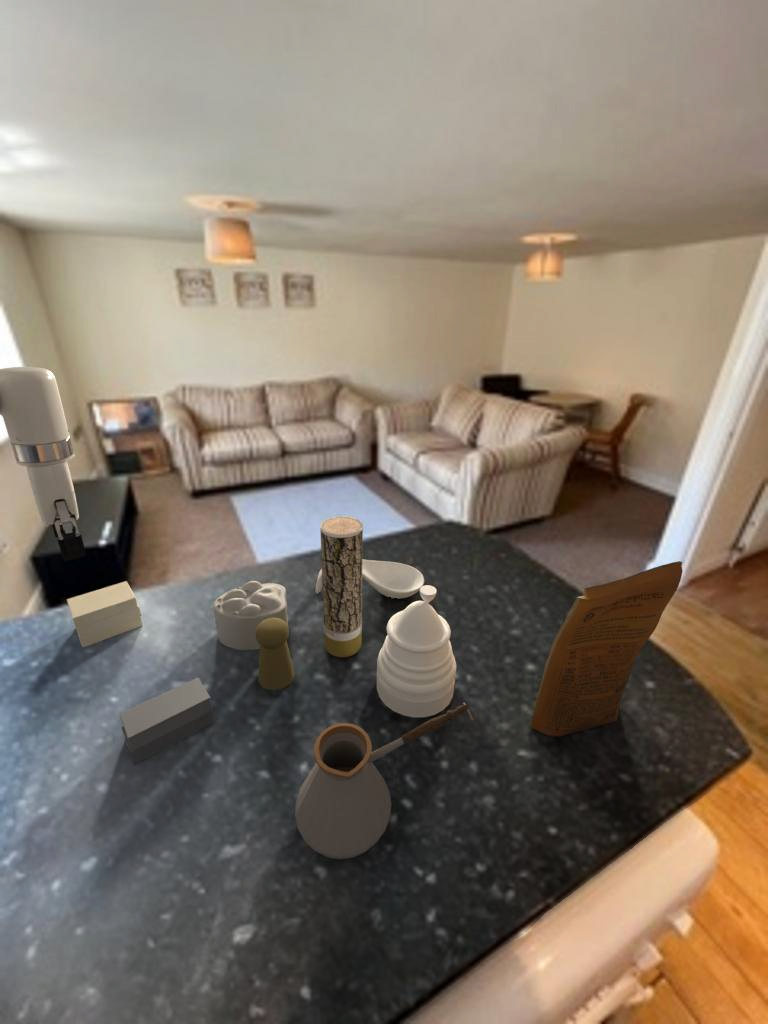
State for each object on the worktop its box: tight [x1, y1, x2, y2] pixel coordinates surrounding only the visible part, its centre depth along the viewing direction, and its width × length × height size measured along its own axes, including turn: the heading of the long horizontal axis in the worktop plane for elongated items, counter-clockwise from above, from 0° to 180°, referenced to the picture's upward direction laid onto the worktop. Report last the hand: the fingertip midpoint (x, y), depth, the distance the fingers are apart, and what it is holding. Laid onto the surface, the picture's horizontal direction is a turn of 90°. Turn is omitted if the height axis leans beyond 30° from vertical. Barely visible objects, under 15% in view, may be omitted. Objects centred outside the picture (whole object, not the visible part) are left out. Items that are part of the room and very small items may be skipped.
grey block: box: [119, 677, 215, 765], centre depth 64 cm, size 11×5×5 cm, turn 130°
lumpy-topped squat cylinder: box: [212, 580, 290, 651], centre depth 84 cm, size 10×13×9 cm
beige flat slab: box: [66, 580, 139, 629], centre depth 83 cm, size 10×7×2 cm
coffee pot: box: [294, 702, 474, 860], centre depth 53 cm, size 21×12×15 cm, turn 106°
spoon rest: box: [314, 558, 425, 599], centre depth 97 cm, size 24×12×7 cm, turn 91°
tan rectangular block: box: [75, 602, 143, 649], centre depth 85 cm, size 10×7×4 cm
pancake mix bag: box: [528, 560, 684, 738], centre depth 63 cm, size 7×19×28 cm, turn 106°
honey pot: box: [376, 584, 457, 718], centre depth 71 cm, size 13×13×18 cm
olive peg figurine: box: [255, 618, 296, 691], centre depth 73 cm, size 6×6×11 cm
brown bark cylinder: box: [319, 515, 364, 658], centre depth 77 cm, size 7×7×25 cm
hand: (70, 546), depth 77 cm, fingers open, 9 cm apart
